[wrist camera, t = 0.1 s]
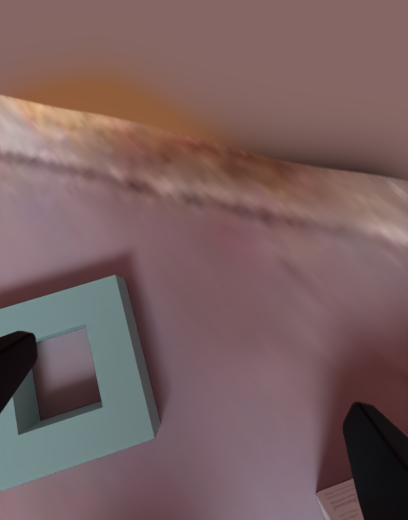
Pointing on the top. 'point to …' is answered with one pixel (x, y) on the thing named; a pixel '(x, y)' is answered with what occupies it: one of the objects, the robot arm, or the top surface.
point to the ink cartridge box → (340, 502)
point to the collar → (108, 377)
